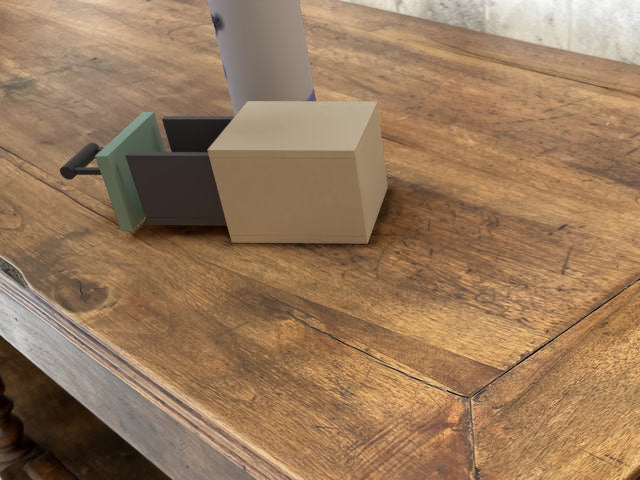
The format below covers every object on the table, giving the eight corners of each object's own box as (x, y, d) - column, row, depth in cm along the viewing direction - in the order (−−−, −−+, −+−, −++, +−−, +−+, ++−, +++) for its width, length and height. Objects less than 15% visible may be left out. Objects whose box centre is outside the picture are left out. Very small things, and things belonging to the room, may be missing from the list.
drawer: (65, 230, 79) (34, 155, 74) (113, 181, 88) (89, 111, 83) (245, 232, 79) (226, 156, 74) (276, 182, 88) (261, 111, 83)
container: (236, 127, 102) (195, -46, 90) (314, 116, 105) (285, -54, 92) (244, 157, 95) (201, -28, 83) (328, 144, 98) (298, -36, 85)
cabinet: (231, 242, 79) (207, 149, 73) (266, 187, 89) (247, 101, 83) (367, 244, 78) (354, 150, 72) (387, 187, 88) (377, 101, 82)
